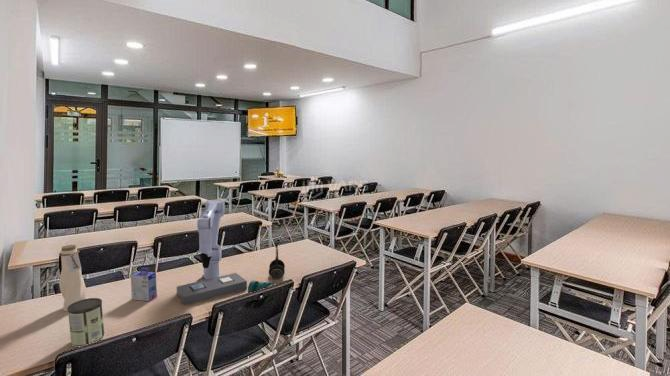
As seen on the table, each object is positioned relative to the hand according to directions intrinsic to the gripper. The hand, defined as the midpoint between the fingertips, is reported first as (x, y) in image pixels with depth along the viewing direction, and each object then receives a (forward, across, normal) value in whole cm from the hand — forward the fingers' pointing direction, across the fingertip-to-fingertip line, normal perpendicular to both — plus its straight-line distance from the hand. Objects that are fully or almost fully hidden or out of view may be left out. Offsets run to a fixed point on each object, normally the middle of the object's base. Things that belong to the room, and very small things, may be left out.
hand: (205, 267), depth 172 cm
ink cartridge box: (+11, -6, -27) cm, 30 cm away
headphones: (+10, +8, +36) cm, 38 cm away
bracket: (+12, +22, +21) cm, 33 cm away
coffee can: (+14, +20, -50) cm, 55 cm away
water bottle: (+12, -14, -53) cm, 56 cm away
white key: (+9, +6, +8) cm, 14 cm away
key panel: (+11, +6, +1) cm, 12 cm away
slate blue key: (+10, +6, -6) cm, 13 cm away
